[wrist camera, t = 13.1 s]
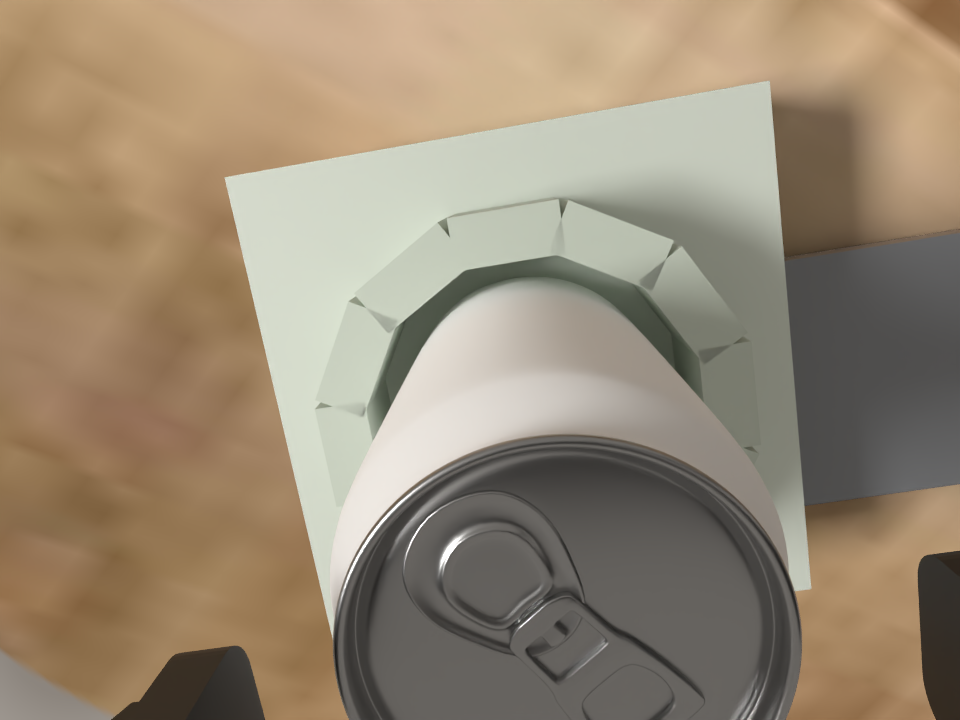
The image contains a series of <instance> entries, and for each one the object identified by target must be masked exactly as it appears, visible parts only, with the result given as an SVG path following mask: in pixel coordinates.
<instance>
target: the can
mask: <svg viewBox="0 0 960 720" xmlns="http://www.w3.org/2000/svg"><path fill="white" fill-rule="evenodd" d="M330 595H331V604H332V611H333V616H334V629H333V657H334V667H335V674H336V679H337V684H338V688H339V692H340V696H341V699H342V702H343V705H344V708H345V711H346V713H347V716H348V718H349V720H786V717H787V715H788V713H789V710H790V707H791V705H792V702H793V698H794V695H795V692H796V688H797V684H798V679H799V673H800V666H801V656H802V629H801V619H800V613H799V607H798V602H797V598H796V594H795V591H794V587H793V584H792V581H791V578H790V576H789V564H788V554H787V547H786V541H785V537H784V532H783V529H782V525H781V522H780V519H779V515H778V513H777V510H776V507H775V505H774V502H773V500H772V498H771V496H770V494H769V492H768V490H767V488H766V486H765V484H764V482H763V480H762V479H761V477H760V475H759V473H758V471H757V470H756V468H755V466H754V465H753V463H752V462H751V460H750V459H749V457H748V456H747V455H746V453H745V452H744V451H743V449H742V448H741V447H740V446H739V444H738V443H737V442H736V440H735V439H734V438H733V436H732V435H731V434H730V433H729V432H728V430H727V429H726V428H725V427H724V426H723V424H722V423H721V422H720V421H719V420H718V419H717V417H716V416H715V415H714V414H713V413H712V412H711V410H710V409H709V408H708V407H707V406H706V405H705V403H704V402H703V401H702V400H701V399H700V398H699V397H698V396H697V394H696V393H695V392H694V391H693V390H692V389H691V388H690V386H689V385H688V384H687V383H686V382H685V381H684V380H683V379H682V377H681V376H680V375H679V374H678V373H677V372H676V371H675V370H674V368H673V367H672V366H671V365H670V364H669V363H668V362H667V361H666V360H665V358H664V357H663V356H662V355H661V354H660V353H659V352H658V351H657V350H656V348H655V347H654V346H653V345H652V344H651V343H650V342H649V341H648V340H647V339H646V337H645V336H644V335H643V334H642V333H641V332H640V331H639V330H638V329H637V328H636V327H635V326H634V324H633V323H632V322H631V321H630V320H629V319H628V318H627V317H626V316H625V315H624V314H623V313H622V312H621V311H620V310H619V309H617V308H616V307H615V306H614V305H613V304H611V303H610V302H609V301H608V300H606V299H605V298H603V297H602V296H600V295H599V294H597V293H595V292H593V291H591V290H589V289H587V288H585V287H583V286H580V285H578V284H575V283H572V282H569V281H565V280H561V279H556V278H549V277H519V278H513V279H508V280H503V281H500V282H496V283H493V284H490V285H487V286H485V287H482V288H480V289H477V290H475V291H473V292H472V293H470V294H468V295H467V296H465V297H464V298H463V299H461V300H460V301H459V302H458V303H457V304H455V305H454V306H453V307H452V308H451V309H450V310H449V311H448V312H447V313H446V314H445V315H444V317H443V318H442V319H441V320H440V321H439V323H438V324H437V326H436V327H435V328H434V330H433V331H432V333H431V334H430V336H429V337H428V339H427V341H426V342H425V344H424V346H423V347H422V349H421V351H420V353H419V355H418V356H417V358H416V360H415V362H414V364H413V366H412V367H411V369H410V371H409V373H408V375H407V377H406V379H405V381H404V383H403V384H402V386H401V388H400V390H399V392H398V394H397V396H396V398H395V400H394V402H393V403H392V405H391V407H390V409H389V411H388V413H387V415H386V417H385V419H384V421H383V423H382V425H381V427H380V429H379V430H378V432H377V434H376V436H375V438H374V440H373V442H372V444H371V446H370V448H369V450H368V452H367V454H366V456H365V458H364V460H363V462H362V464H361V466H360V468H359V470H358V472H357V474H356V476H355V479H354V481H353V483H352V486H351V488H350V490H349V493H348V495H347V497H346V500H345V502H344V505H343V508H342V511H341V514H340V517H339V521H338V525H337V529H336V533H335V537H334V542H333V547H332V554H331V563H330Z"/></svg>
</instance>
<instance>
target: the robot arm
mask: <svg viewBox="0 0 960 720" xmlns="http://www.w3.org/2000/svg"><path fill="white" fill-rule="evenodd" d="M918 592H919V612H920V631H921V651H922V670H923V680H924V686H925V690H926V694H927V697H928V701H929V704H930V706H931V709H932V711H933V714H934V716H935V718H936V720H960V551H954V552H947V553H939V554H932V555H926V556H924V557H923V558H922V559H921V561H920V564H919V567H918ZM111 720H265V717H264V714H263V710H262V706H261V702H260V699H259V695H258V691H257V687H256V684H255V680H254V676H253V672H252V669H251V665H250V662H249V659H248V657H247V654H246V653H245V651H244V650H243V649H242V648H241V647H239V646H229V647H222V648H214V649H207V650H199V651H192V652H184V653H178V654H175V655H174V656H173V657H172V658H171V659H170V660H169V661H168V662H167V664H166V665H165V667H164V668H163V669H162V671H161V672H160V674H159V675H158V676H157V678H156V679H155V680H154V682H153V683H152V685H151V686H150V687H149V689H148V690H147V692H146V693H145V694H144V696H143V697H142V699H141V700H140V701H139V702H133V703H131V704H130V705H128V706H127V707H126V708H125V709H124V710H122V711H121V712H120V713H119V714H117V715H116V716H115V717H114V718H113V719H111Z"/></svg>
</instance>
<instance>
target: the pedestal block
mask: <svg viewBox="0 0 960 720" xmlns="http://www.w3.org/2000/svg"><path fill="white" fill-rule="evenodd" d="M225 181H226V185H227V189H228V194H229V198H230V202H231V206H232V211H233V215H234V219H235V223H236V228H237V232H238V236H239V241H240V245H241V249H242V253H243V258H244V262H245V266H246V270H247V275H248V279H249V283H250V287H251V292H252V296H253V300H254V305H255V309H256V313H257V317H258V322H259V326H260V330H261V334H262V339H263V343H264V347H265V352H266V356H267V360H268V364H269V369H270V373H271V377H272V381H273V386H274V390H275V394H276V398H277V403H278V407H279V411H280V416H281V420H282V424H283V428H284V433H285V437H286V441H287V445H288V450H289V454H290V458H291V463H292V467H293V471H294V475H295V480H296V484H297V488H298V492H299V497H300V501H301V505H302V510H303V514H304V518H305V522H306V527H307V531H308V535H309V539H310V544H311V548H312V552H313V556H314V561H315V565H316V569H317V574H318V578H319V582H320V586H321V591H322V595H323V599H324V603H325V608H326V612H327V616H328V621H329V625H330V629H331V633H332V638H333V629H334V616H333V611H332V604H331V595H330V563H331V554H332V547H333V542H334V537H335V533H336V529H337V525H338V521H339V517H340V514H341V511H342V508H343V505H344V502H345V500H346V497H347V495H348V493H349V490H350V488H351V486H352V483H353V481H354V479H355V476H356V474H357V472H358V470H359V468H360V466H361V464H362V462H363V460H364V458H365V456H366V454H367V452H368V450H369V448H370V446H371V444H372V442H373V440H374V438H375V436H376V434H377V432H378V430H379V429H380V427H381V425H382V423H383V421H384V419H385V417H386V415H387V413H388V411H389V409H390V407H391V405H392V403H393V402H394V400H395V398H396V396H397V394H398V392H399V390H400V388H401V386H402V384H403V383H404V381H405V379H406V377H407V375H408V373H409V371H410V369H411V367H412V366H413V364H414V362H415V360H416V358H417V356H418V355H419V353H420V351H421V349H422V347H423V346H424V344H425V342H426V341H427V339H428V337H429V336H430V334H431V333H432V331H433V330H434V328H435V327H436V326H437V324H438V323H439V321H440V320H441V319H442V318H443V317H444V315H445V314H446V313H447V312H448V311H449V310H450V309H451V308H452V307H453V306H454V305H455V304H457V303H458V302H459V301H460V300H461V299H463V298H464V297H465V296H467V295H468V294H470V293H472V292H473V291H475V290H477V289H480V288H482V287H485V286H487V285H490V284H493V283H496V282H500V281H503V280H508V279H513V278H519V277H549V278H556V279H561V280H565V281H569V282H572V283H575V284H578V285H580V286H583V287H585V288H587V289H589V290H591V291H593V292H595V293H597V294H599V295H600V296H602V297H603V298H605V299H606V300H608V301H609V302H610V303H611V304H613V305H614V306H615V307H616V308H617V309H619V310H620V311H621V312H622V313H623V314H624V315H625V316H626V317H627V318H628V319H629V320H630V321H631V322H632V323H633V324H634V326H635V327H636V328H637V329H638V330H639V331H640V332H641V333H642V334H643V335H644V336H645V337H646V339H647V340H648V341H649V342H650V343H651V344H652V345H653V346H654V347H655V348H656V350H657V351H658V352H659V353H660V354H661V355H662V356H663V357H664V358H665V360H666V361H667V362H668V363H669V364H670V365H671V366H672V367H673V368H674V370H675V371H676V372H677V373H678V374H679V375H680V376H681V377H682V379H683V380H684V381H685V382H686V383H687V384H688V385H689V386H690V388H691V389H692V390H693V391H694V392H695V393H696V394H697V396H698V397H699V398H700V399H701V400H702V401H703V402H704V403H705V405H706V406H707V407H708V408H709V409H710V410H711V412H712V413H713V414H714V415H715V416H716V417H717V419H718V420H719V421H720V422H721V423H722V424H723V426H724V427H725V428H726V429H727V430H728V432H729V433H730V434H731V435H732V436H733V438H734V439H735V440H736V442H737V443H738V444H739V446H740V447H741V448H742V449H743V451H744V452H745V453H746V455H747V456H748V457H749V459H750V460H751V462H752V463H753V465H754V466H755V468H756V470H757V471H758V473H759V475H760V477H761V479H762V480H763V482H764V484H765V486H766V488H767V490H768V492H769V494H770V496H771V498H772V500H773V502H774V505H775V507H776V510H777V513H778V515H779V519H780V522H781V525H782V529H783V532H784V537H785V541H786V547H787V554H788V564H789V576H790V578H791V581H792V584H793V587H794V591H800V590H808V589H811V581H810V568H809V556H808V544H807V532H806V520H805V507H804V495H803V483H802V471H801V458H800V446H799V434H798V422H797V409H796V397H795V385H794V373H793V360H792V348H791V336H790V324H789V312H788V299H787V287H786V275H785V263H784V250H783V238H782V226H781V214H780V201H779V189H778V177H777V165H776V152H775V140H774V128H773V116H772V103H771V91H770V81H764V82H759V83H753V84H748V85H742V86H736V87H731V88H725V89H719V90H714V91H708V92H703V93H697V94H691V95H686V96H680V97H674V98H669V99H663V100H658V101H652V102H646V103H641V104H635V105H629V106H624V107H618V108H613V109H607V110H601V111H596V112H590V113H584V114H579V115H573V116H568V117H562V118H556V119H551V120H545V121H539V122H534V123H528V124H523V125H517V126H511V127H506V128H500V129H494V130H489V131H483V132H478V133H472V134H466V135H461V136H455V137H449V138H444V139H438V140H433V141H427V142H421V143H416V144H410V145H404V146H399V147H393V148H388V149H382V150H376V151H371V152H365V153H359V154H354V155H348V156H343V157H337V158H331V159H326V160H320V161H314V162H309V163H303V164H298V165H292V166H286V167H281V168H275V169H269V170H264V171H258V172H253V173H247V174H241V175H236V176H230V177H225Z"/></svg>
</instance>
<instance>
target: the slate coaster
mask: <svg viewBox="0 0 960 720" xmlns="http://www.w3.org/2000/svg"><path fill="white" fill-rule="evenodd" d="M784 263H785V275H786V287H787V299H788V312H789V324H790V336H791V348H792V360H793V373H794V385H795V397H796V409H797V422H798V434H799V446H800V458H801V471H802V483H803V495H804V506H807V505H814V504H821V503H829V502H836V501H843V500H850V499H857V498H864V497H871V496H878V495H886V494H893V493H900V492H907V491H914V490H921V489H928V488H935V487H942V486H950V485H957V484H960V229H956V230H950V231H943V232H937V233H931V234H925V235H919V236H913V237H906V238H900V239H894V240H888V241H882V242H876V243H869V244H863V245H857V246H851V247H845V248H839V249H832V250H826V251H820V252H814V253H808V254H802V255H796V256H789V257H784Z"/></svg>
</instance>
